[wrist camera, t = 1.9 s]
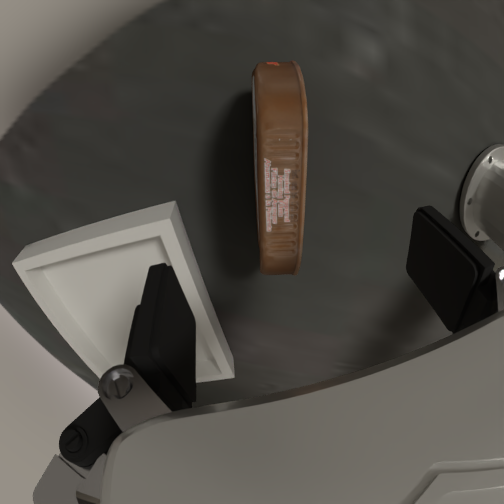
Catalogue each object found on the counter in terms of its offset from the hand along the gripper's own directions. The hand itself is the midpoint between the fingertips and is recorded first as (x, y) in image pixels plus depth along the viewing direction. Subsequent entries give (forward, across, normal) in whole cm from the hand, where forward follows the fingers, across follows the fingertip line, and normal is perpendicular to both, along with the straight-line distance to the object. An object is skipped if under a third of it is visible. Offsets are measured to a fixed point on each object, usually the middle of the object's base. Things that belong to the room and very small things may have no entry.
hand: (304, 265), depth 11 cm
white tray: (+15, +16, +13) cm, 25 cm away
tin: (+14, -1, 0) cm, 15 cm away
